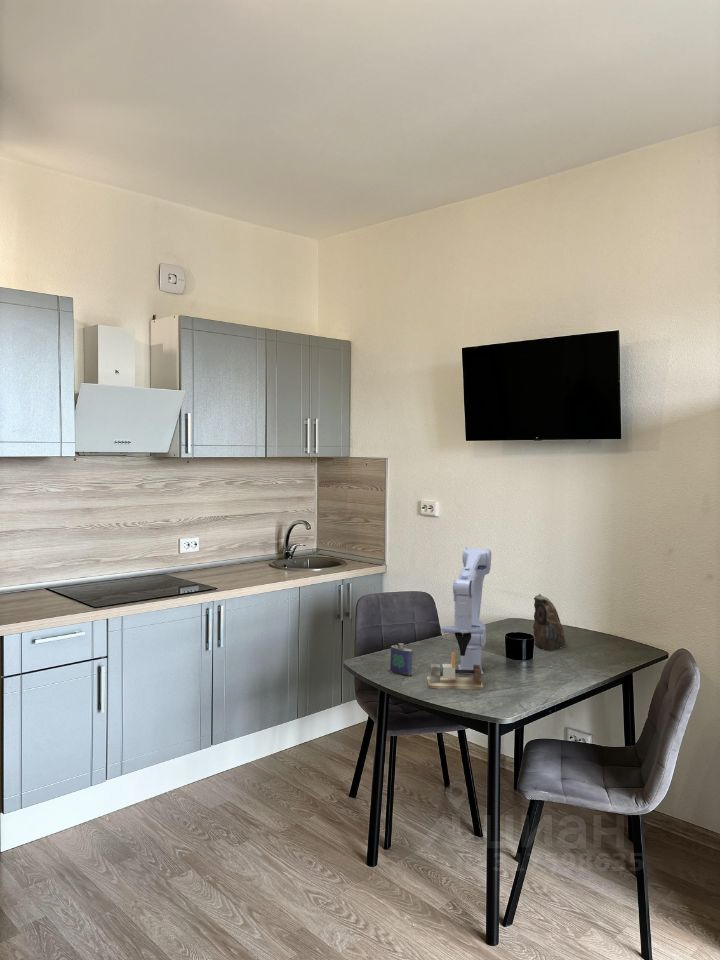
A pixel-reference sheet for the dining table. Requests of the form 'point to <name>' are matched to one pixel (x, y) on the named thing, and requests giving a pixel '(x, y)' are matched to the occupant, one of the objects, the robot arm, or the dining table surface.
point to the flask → (401, 660)
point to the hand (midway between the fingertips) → (462, 655)
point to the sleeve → (449, 668)
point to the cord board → (456, 683)
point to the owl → (547, 625)
